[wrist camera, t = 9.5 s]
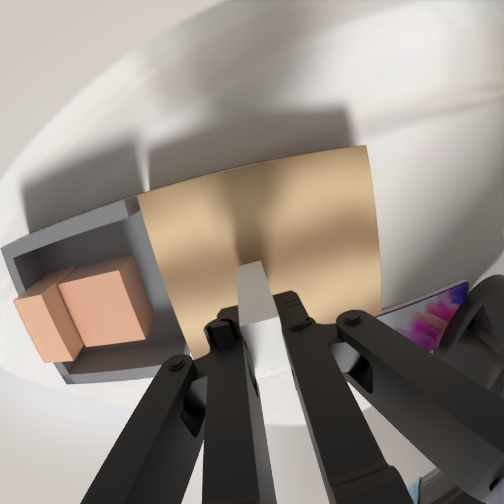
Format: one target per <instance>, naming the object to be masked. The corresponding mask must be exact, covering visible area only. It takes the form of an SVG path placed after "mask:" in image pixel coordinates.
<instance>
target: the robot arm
mask: <svg viewBox="0 0 504 504" xmlns="http://www.w3.org/2000/svg"><path fill="white" fill-rule="evenodd" d="M235 269H236V284H237V298H238V305H235V306H231V307H227V308H223V309H221V310H220V311H219V313H218V314H217V319H214V320H212V321H211V322H209V323H208V324H207V325H206V326H205V327H204V329H203V331H204V334H205V336H206V339H207V341H208V344H209V346H210V352H209V353H208V354H206V355H204V356H202V357H200V358H198V359H195V360H192V357H191V356H189V355H187V354H179V355H175V356H172V357H170V358H169V359H167V360H166V361H165V362H164V363H163V364H162V365H161V367H160V369H159V370H158V372H157V374H156V375H155V377H154V379H153V380H152V382H151V384H150V385H149V387H148V389H147V390H146V392H145V394H144V395H143V397H142V399H141V400H140V402H139V404H138V405H137V407H136V409H135V410H134V412H133V414H132V415H131V417H130V419H129V420H128V422H127V424H126V425H125V427H124V429H123V430H122V432H121V434H120V436H119V437H118V439H117V441H116V442H115V444H114V446H113V448H112V449H111V451H110V453H109V454H108V456H107V458H106V459H105V461H104V463H103V465H102V466H101V468H100V470H99V472H98V473H97V475H96V477H95V479H94V480H93V482H92V484H91V486H90V487H89V489H88V491H87V493H86V494H85V496H84V498H83V500H82V502H81V503H80V504H181V502H182V499H183V497H184V494H185V491H186V488H187V486H188V483H189V480H190V477H191V474H192V472H193V469H194V466H195V463H196V460H197V458H198V455H199V452H200V449H201V446H202V443H203V440H204V454H203V485H202V504H277V502H276V495H275V489H274V484H273V477H272V471H271V464H270V458H269V452H268V446H267V439H266V433H265V426H264V420H263V413H262V406H261V400H260V393H259V387H258V384H257V381H256V378H257V379H258V378H262V377H266V376H270V375H274V374H278V373H282V372H286V371H290V370H292V375H293V379H294V383H295V387H296V390H297V392H298V396H299V399H300V403H301V406H302V409H303V413H304V416H305V420H306V423H307V427H308V430H309V433H310V437H311V440H312V444H313V447H314V451H315V453H316V457H317V461H318V464H319V468H320V471H321V475H322V478H323V482H324V485H325V489H326V492H327V496H328V499H329V503H330V504H504V276H503V275H493V276H490V277H488V278H486V279H484V280H483V281H481V282H480V283H479V284H477V285H476V286H475V287H474V288H473V289H472V290H471V291H470V292H469V293H468V296H467V297H466V299H465V300H464V301H463V302H462V304H461V305H460V306H459V308H458V309H457V310H456V312H455V313H454V315H453V317H452V318H451V320H450V322H449V323H448V325H447V327H446V329H445V331H444V333H443V335H442V337H441V340H440V342H439V345H438V347H437V348H435V352H434V354H432V353H431V352H429V351H427V350H426V349H424V348H423V347H421V346H420V345H418V344H416V343H415V342H413V341H412V340H410V339H409V338H407V337H405V336H404V335H402V334H401V333H399V332H398V331H396V330H394V329H393V328H391V327H390V326H388V325H386V324H385V323H383V322H382V321H380V320H379V319H377V318H375V317H374V316H372V315H371V314H369V313H367V312H365V311H363V310H349V311H346V312H343V313H342V314H340V315H339V316H338V317H337V318H336V323H334V324H319V323H316V321H315V320H314V319H313V318H312V317H309V315H308V313H307V311H306V309H305V307H304V305H303V304H302V302H301V300H300V298H299V296H298V294H297V293H296V292H294V291H292V290H290V291H286V292H282V293H279V294H275V295H272V293H271V290H270V287H269V284H268V281H267V278H266V275H265V272H264V269H263V266H262V263H261V261H257V262H253V263H249V264H245V265H241V266H238V267H235ZM255 375H256V377H255ZM345 379H346V380H347V381H348V382H349V383H350V384H351V385H352V386H353V387H354V388H355V389H356V390H357V391H358V392H359V393H360V394H361V395H362V396H363V397H364V398H365V399H366V400H367V401H368V402H369V403H370V404H371V405H372V406H374V407H375V408H376V409H377V410H378V411H379V412H380V413H381V414H382V415H383V416H384V417H385V418H386V419H387V420H388V421H389V422H390V423H391V424H392V425H393V426H394V427H395V428H396V429H397V430H398V431H399V432H400V433H401V434H403V436H405V437H406V438H407V439H408V440H409V441H410V442H411V443H412V444H413V445H414V446H415V447H416V448H417V449H418V450H419V451H420V452H421V453H423V454H424V455H425V456H426V457H427V458H428V459H429V460H430V461H431V462H432V463H433V464H434V465H435V466H436V468H435V469H433V470H432V471H431V472H429V473H428V474H426V475H425V476H424V477H422V478H421V477H419V478H417V479H416V481H415V482H414V483H413V484H411V485H410V486H408V487H406V485H405V483H404V481H403V479H402V477H401V475H400V474H399V472H398V470H397V469H396V468H395V467H394V466H390V465H388V464H387V462H386V460H385V459H384V457H383V455H382V452H381V450H380V449H379V446H378V444H377V442H376V440H375V438H374V436H373V434H372V432H371V430H370V428H369V426H368V424H367V422H366V420H365V418H364V415H363V413H362V411H361V409H360V407H359V405H358V403H357V401H356V399H355V397H354V395H353V393H352V391H351V389H350V387H349V385H348V383H347V382H346V380H345Z"/></svg>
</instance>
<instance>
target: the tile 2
mask: <svg viewBox="0 0 504 504" xmlns="http://www.w3.org/2000/svg"><path fill="white" fill-rule="evenodd" d="M58 286H59V289H60V291H61V294H62V296H63V298H64V301H65V303H66V306H67V308H68V310H69V312H70V315H71V317H72V319H73V321H74V323H75V325H76V327H77V330H78V332H79V334H80V336H81V338H82V340H83V342H84V344H85V346H86V347H91V346H99V345H107V344H115V343H123V342H130V341H137V340H144V339H146V337H147V335H148V332H149V330H150V327H151V324H152V322H153V319H154V315H153V312H152V309H151V307H150V304H149V301H148V298H147V296H146V293H145V290H144V287H143V284H142V282H141V279H140V276H139V273H138V270H137V267H136V264H135V261H134V257H133V255H130V256H125V257H121V258H117V259H113V260H109V261H105V262H101V263H97V264H93V265H89V266H85V267H81V268H77V269H75V270H74V271H73V272H72V273H71V274H69V275H68V276H67V277H66V278H65V279H64V280H62V281H61V282H60V283H59V284H58Z"/></svg>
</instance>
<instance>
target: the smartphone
mask: <svg viewBox="0 0 504 504" xmlns="http://www.w3.org/2000/svg"><path fill="white" fill-rule="evenodd" d="M468 289H469V283H468V281H467V280H466V279H462V280H459V281H457V282H455V283H452V284H450V285H448V286H445V287H443V288H440V289H438V290H435V291H433V292H430V293H428V294H425V295H423V296H420V297H417V298H415V299H412V300H409V301H407V302H404V303H401V304H398V305H395V306H393V307H390V308H387V309H384V310H382V314H381V315H378V316H375V318H377V319H379V320H380V321H382V322H383V323H385V324H386V325H388V326H390V327H391V328H393V329H394V330H396V331H398V332H399V333H401V334H402V335H404V336H405V337H407V338H409V339H410V340H412V341H413V342H415V343H416V344H418V345H420V346H421V347H423V348H424V349H426V350H427V351H431V350H433V349H435V348H437V347H438V345H439V342H440V340H441V337H442V335H443V333H444V331H445V329H446V327H447V325H448V323H449V322H450V320H451V318H452V317H453V315H454V313H455V312H456V310H457V309H458V308H459V306H460V305H461V304H462V302H463V301H464V300H465V299H466V297H467V296H468ZM345 380H346V379H345ZM346 382H348V381H347V380H346Z"/></svg>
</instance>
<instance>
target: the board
mask: <svg viewBox="0 0 504 504" xmlns="http://www.w3.org/2000/svg"><path fill="white" fill-rule="evenodd" d="M137 197H138V201H139V205H140V208H141V212H142V215H143V219H144V222H145V226H146V229H147V232H148V235H149V239H150V242H151V245H152V248H153V251H154V254H155V258H156V261H157V264H158V267H159V270H160V272H161V275H162V278H163V281H164V284H165V287H166V290H167V292H168V295H169V298H170V301H171V303H172V306H173V309H174V311H175V314H176V317H177V319H178V322H179V325H180V327H181V330H182V332H183V335H184V337H185V340H186V342H187V344H188V347H189V349H190V352H191V354H192V357H193V359H194V360H195V359H198V358H200V357H202V356H204V355H206V354H208V353H209V352H210V346H209V344H208V341H207V339H206V336H205V334H204V331H203V329H204V327H205V326H206V325H207V324H208V323H209V322H211V321H212V320H214V319H217V314H218V313H219V311H220V310H221V309H223V308H227V307H231V306H235V305H238V298H237V284H236V269H235V267H238V266H241V265H245V264H249V263H253V262H257V261H261V263H262V266H263V269H264V272H265V275H266V278H267V281H268V284H269V287H270V290H271V293H272V295H275V294H279V293H282V292H286V291H290V290H292V291H294V292H296V293H297V294H298V296H299V298H300V300H301V302H302V304H303V305H304V307H305V309H306V311H307V313H308V315H309V317H312V318H313V319H314V320H315V321H316V323H319V324H334V323H336V318H337V317H338V316H339V315H340V314H342V313H343V312H346V311H349V310H363V311H365V312H367V313H369V314H371V315H372V316H374V317H375V316H378V315H381V314H382V304H381V271H380V253H379V240H378V228H377V218H376V209H375V200H374V192H373V185H372V178H371V171H370V165H369V159H368V153H367V148H366V145H362V146H348V147H341V148H334V149H328V150H322V151H316V152H310V153H304V154H299V155H293V156H288V157H283V158H278V159H273V160H268V161H263V162H258V163H254V164H249V165H245V166H240V167H236V168H232V169H227V170H223V171H219V172H215V173H211V174H207V175H203V176H199V177H196V178H192V179H188V180H184V181H181V182H177V183H174V184H170V185H167V186H163V187H160V188H156V189H153V190H150V191H147V192H145V193H142V194H140V195H138V196H137Z"/></svg>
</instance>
